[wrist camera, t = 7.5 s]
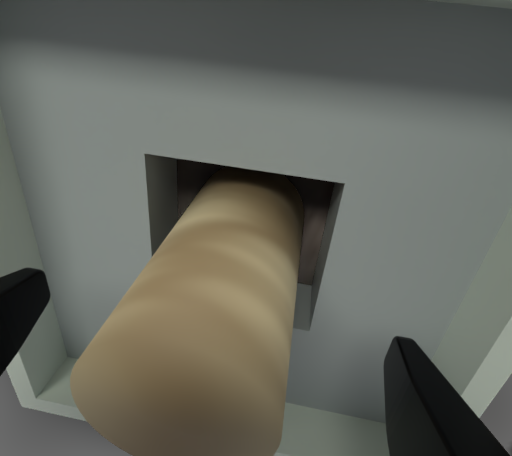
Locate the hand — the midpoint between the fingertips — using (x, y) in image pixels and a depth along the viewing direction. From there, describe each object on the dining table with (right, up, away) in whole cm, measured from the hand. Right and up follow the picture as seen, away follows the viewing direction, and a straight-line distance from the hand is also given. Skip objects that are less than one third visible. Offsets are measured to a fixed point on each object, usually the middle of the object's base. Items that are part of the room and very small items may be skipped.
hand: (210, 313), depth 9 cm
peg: (+1, +3, +4) cm, 5 cm away
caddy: (+1, +3, +4) cm, 5 cm away
